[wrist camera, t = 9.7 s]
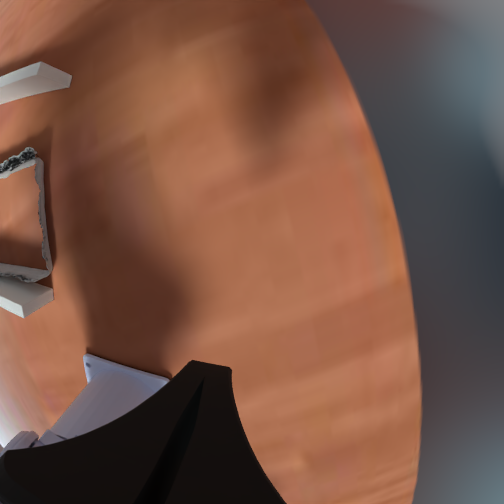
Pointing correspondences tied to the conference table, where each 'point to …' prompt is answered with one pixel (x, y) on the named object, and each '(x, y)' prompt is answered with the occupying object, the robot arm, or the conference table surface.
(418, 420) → the conference table surface
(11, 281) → the box
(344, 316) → the conference table surface
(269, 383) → the conference table surface
